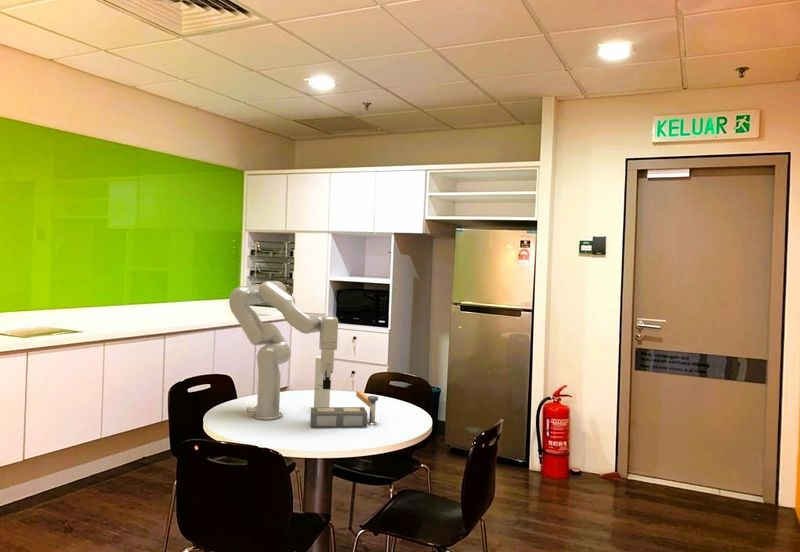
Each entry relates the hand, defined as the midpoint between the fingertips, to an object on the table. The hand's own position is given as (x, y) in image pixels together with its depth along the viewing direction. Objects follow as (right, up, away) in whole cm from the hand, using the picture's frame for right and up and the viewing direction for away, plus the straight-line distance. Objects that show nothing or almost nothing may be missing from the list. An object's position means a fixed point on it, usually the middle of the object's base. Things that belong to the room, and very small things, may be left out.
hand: (326, 388), depth 255 cm
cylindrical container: (-5, -15, +24) cm, 28 cm away
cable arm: (+16, -9, +14) cm, 23 cm away
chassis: (+5, -15, +1) cm, 16 cm away
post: (+19, -16, +4) cm, 25 cm away
